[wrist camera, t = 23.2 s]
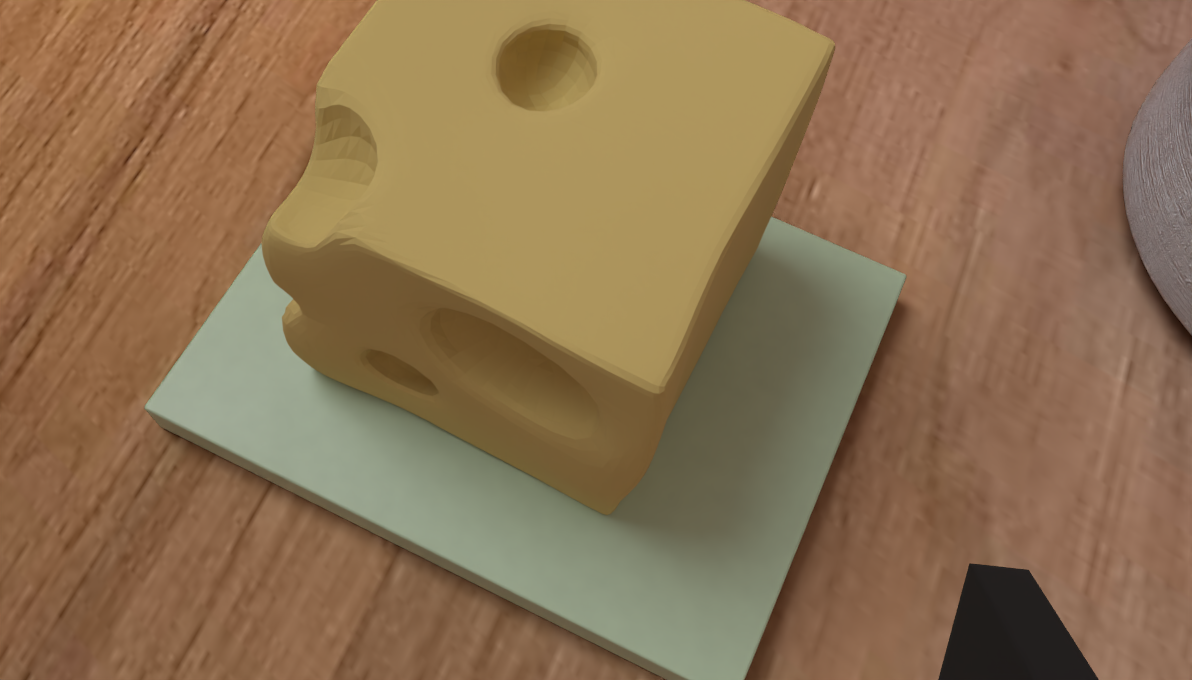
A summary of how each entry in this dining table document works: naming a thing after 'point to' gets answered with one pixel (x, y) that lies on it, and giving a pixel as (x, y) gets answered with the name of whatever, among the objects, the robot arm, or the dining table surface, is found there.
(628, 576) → the board
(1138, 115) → the planter
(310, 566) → the dining table surface
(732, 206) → the cheese
